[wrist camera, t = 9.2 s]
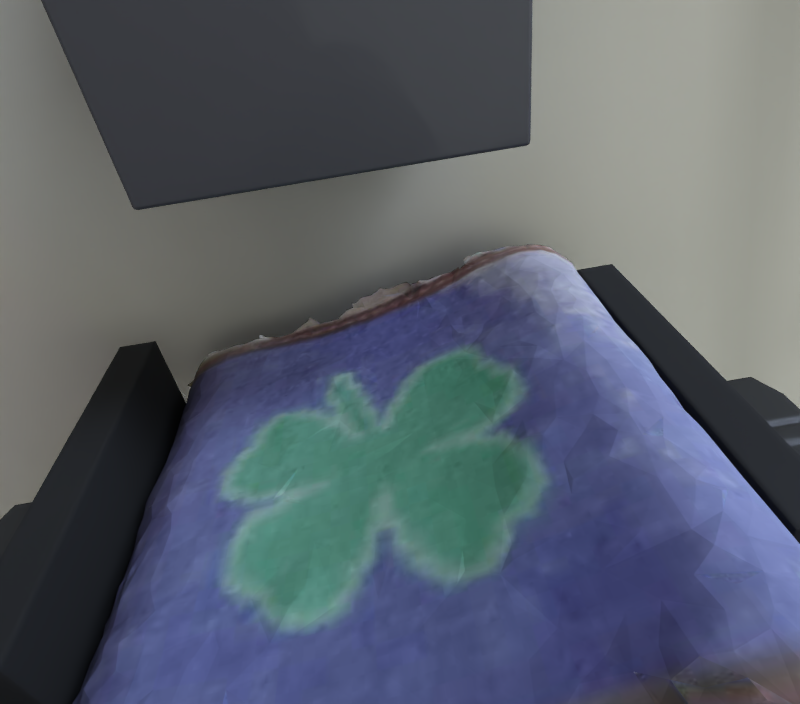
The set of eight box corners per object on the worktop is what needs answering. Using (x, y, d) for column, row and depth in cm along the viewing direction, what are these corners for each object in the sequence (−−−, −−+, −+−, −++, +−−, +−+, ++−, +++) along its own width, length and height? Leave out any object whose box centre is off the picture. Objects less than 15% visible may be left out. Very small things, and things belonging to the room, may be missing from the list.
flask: (559, 218, 11) (1410, 1129, 2) (578, 327, 13) (1110, 1091, 4) (165, 362, 12) (-264, 1365, 3) (231, 445, 14) (59, 1253, 5)
